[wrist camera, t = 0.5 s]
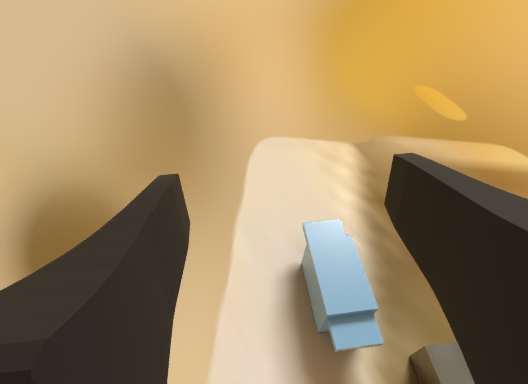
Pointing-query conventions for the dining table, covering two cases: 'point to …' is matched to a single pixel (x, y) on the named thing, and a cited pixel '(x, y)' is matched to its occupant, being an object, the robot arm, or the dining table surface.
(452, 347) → the chassis
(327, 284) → the servo
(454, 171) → the robot arm
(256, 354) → the dining table surface
